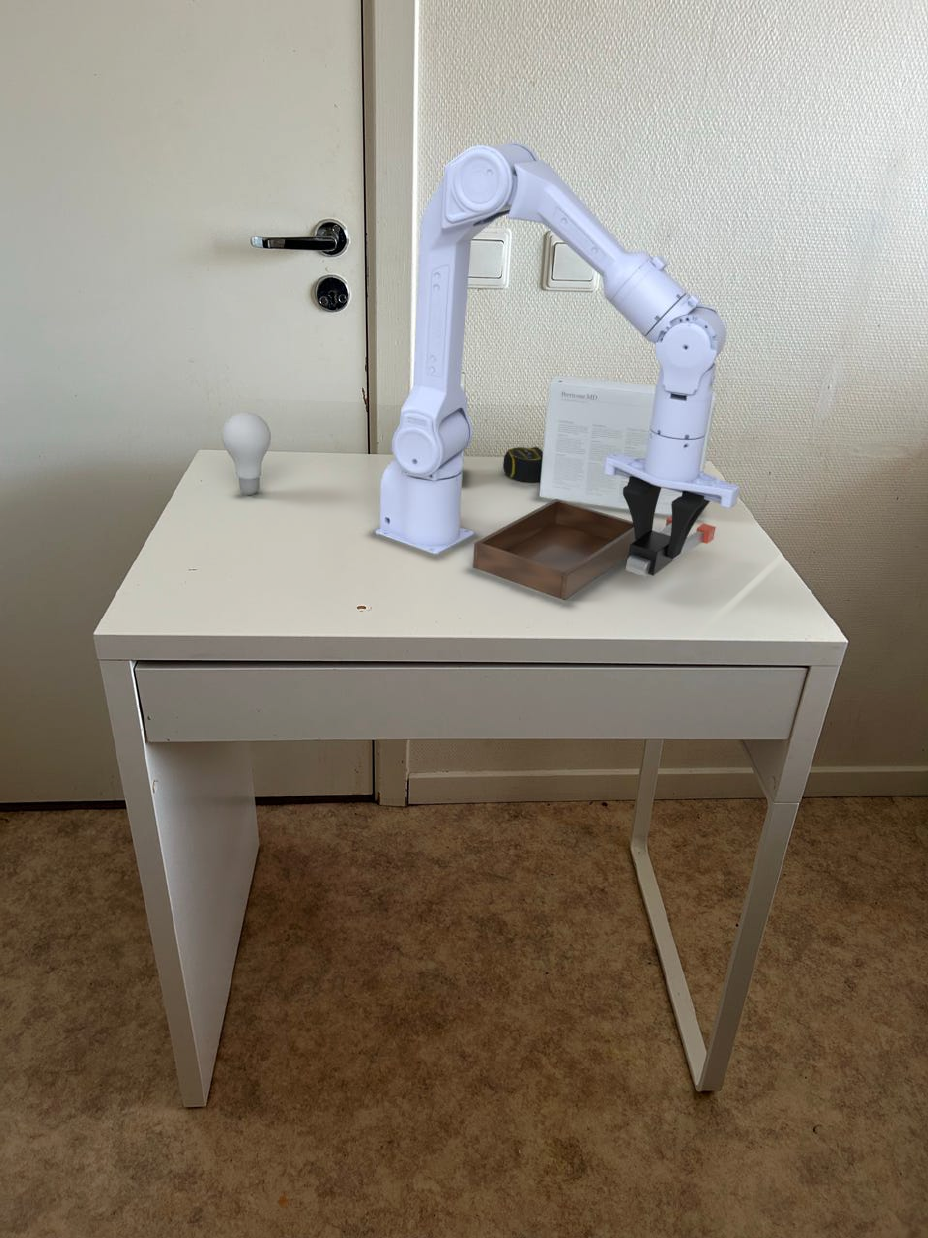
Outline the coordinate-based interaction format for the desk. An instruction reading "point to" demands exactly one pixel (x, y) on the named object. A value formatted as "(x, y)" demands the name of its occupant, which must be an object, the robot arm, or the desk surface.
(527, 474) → the tape measure
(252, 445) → the lightbulb
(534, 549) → the tray
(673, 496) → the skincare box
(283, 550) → the desk surface
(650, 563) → the tongs
